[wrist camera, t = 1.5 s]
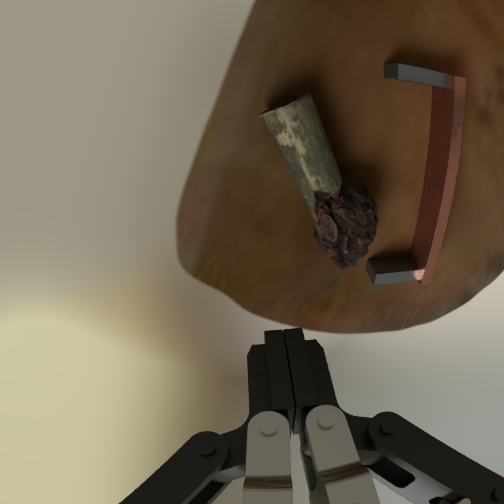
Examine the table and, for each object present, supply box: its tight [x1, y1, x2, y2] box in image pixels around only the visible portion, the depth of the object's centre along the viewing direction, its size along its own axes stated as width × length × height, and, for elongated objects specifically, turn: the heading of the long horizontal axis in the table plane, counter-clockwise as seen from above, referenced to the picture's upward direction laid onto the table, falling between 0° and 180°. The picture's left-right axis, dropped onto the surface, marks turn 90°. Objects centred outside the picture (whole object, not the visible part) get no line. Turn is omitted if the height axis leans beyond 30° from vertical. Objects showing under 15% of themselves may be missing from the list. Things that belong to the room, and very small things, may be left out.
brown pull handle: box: [366, 63, 466, 285], centre depth 28 cm, size 8×24×4 cm, turn 3°
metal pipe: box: [259, 93, 378, 270], centre depth 28 cm, size 18×7×6 cm, turn 25°
